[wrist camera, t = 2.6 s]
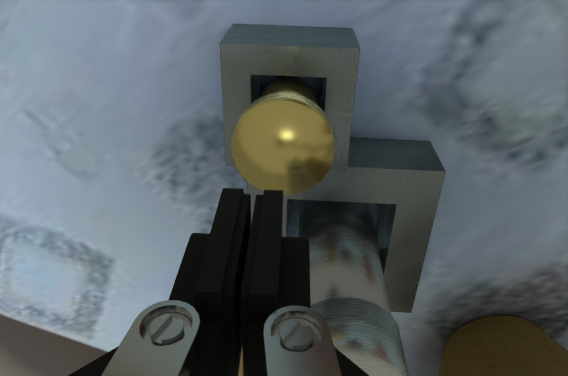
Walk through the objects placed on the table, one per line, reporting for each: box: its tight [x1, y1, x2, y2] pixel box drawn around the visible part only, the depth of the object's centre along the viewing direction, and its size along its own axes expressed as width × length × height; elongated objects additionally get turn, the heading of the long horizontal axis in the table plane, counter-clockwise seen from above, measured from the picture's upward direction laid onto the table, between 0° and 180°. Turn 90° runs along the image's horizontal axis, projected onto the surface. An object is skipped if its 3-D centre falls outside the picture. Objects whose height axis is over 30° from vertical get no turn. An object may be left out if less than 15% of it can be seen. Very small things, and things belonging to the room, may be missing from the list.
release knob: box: [231, 77, 335, 195], centre depth 20 cm, size 4×4×5 cm
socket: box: [220, 24, 446, 313], centre depth 25 cm, size 11×16×4 cm
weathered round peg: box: [298, 200, 409, 376], centre depth 22 cm, size 5×5×14 cm
